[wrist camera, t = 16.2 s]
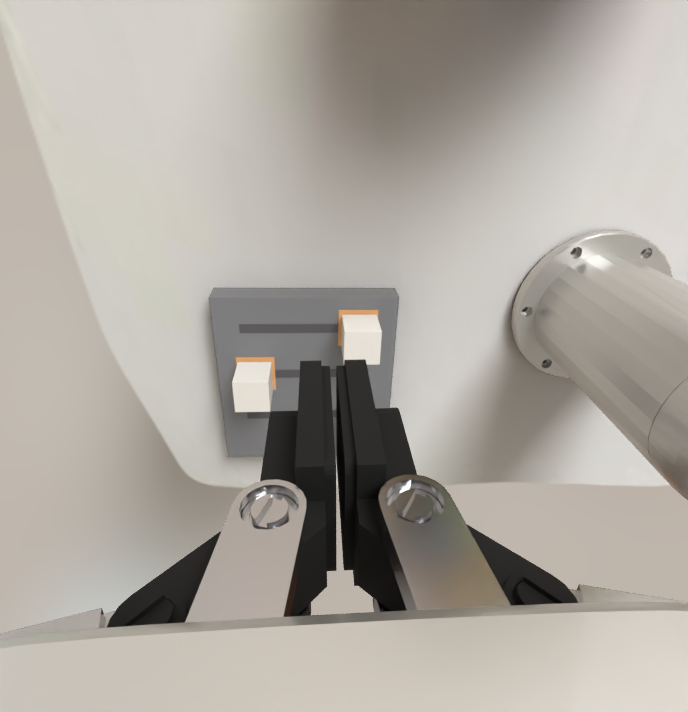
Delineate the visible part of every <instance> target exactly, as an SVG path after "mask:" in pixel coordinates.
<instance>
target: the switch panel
mask: <svg viewBox="0 0 688 712" xmlns="http://www.w3.org/2000/svg"><path fill="white" fill-rule="evenodd" d="M209 302H210V311H211V319H212V327H213V335H214V344H215V352H216V360H217V368H218V376H219V385H220V393H221V401H222V409H223V417H224V426H225V434H226V442H227V450H228V457H247V456H264V451H265V444H266V437H267V430H268V423H269V416H270V412H271V411H298V397H299V378H300V361H318V360H321V366H330V378H331V394H332V410H333V427H334V443H335V455H337V452H336V366H339V365H344V363H343V355H342V347H341V340H342V315H377V317H378V321H379V324H380V327H381V331H382V338H381V352H380V365H367V369H368V374H369V379H370V384H371V389H372V394H373V399H374V404H375V408H390V397H391V386H392V374H393V363H394V351H395V339H396V328H397V316H398V305H399V296H398V294H397V292H396V290H395V288H214V289H213V291H212V293H211V295H210V296H209ZM238 362H272V379H273V395H272V402H271V410H270V412H235V406H234V397H233V387H232V381H233V377H234V374H235V370H236V367H237V363H238Z"/></svg>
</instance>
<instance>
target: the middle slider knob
mask: <svg viewBox="0 0 688 712" xmlns="http://www.w3.org/2000/svg"><path fill="white" fill-rule="evenodd" d="M232 387H233V397H234V406H235V412H270V410H271V402H272V395H273V379H272V362H238V363H237V367H236V370H235V374H234V377H233V381H232Z"/></svg>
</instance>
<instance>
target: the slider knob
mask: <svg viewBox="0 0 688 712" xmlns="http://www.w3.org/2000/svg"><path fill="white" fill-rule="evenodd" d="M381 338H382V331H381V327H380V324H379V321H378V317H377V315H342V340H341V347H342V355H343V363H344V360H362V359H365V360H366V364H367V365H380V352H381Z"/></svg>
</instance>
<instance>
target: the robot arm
mask: <svg viewBox="0 0 688 712" xmlns="http://www.w3.org/2000/svg"><path fill="white" fill-rule="evenodd" d="M572 250H573V251H572ZM571 251H572V252H571ZM524 308H525V309H524ZM511 324H512V331H513V337H514V339H515V342H516V344H517V347H518V348H519V350H520V351H521V352H522V354H523V355H524V356H525V358H526V359H527V360H528V361H529V362H530V363H531V364H532V365H533V366H534V367H536V368H537V369H539V370H540V371H542V372H545V373H547V374H550V375H552V376H557V377H563V378H571V379H572V380H573V381H574V382H575V383H576V384H577V385H578V386H579V387H580V389H581V390H582V391H583V392H584V393H585V394H586V395H587V396H588V397H589V398H590V399H591V400H592V401H593V403H594V404H595V405H596V406H597V407H598V408H599V409H600V410H601V411H602V412H603V413H604V414H605V415H606V416H607V418H608V419H609V420H610V421H611V422H612V423H613V424H614V425H615V426H616V427H617V428H618V429H619V430H620V431H621V433H622V434H623V435H624V436H625V437H626V438H627V439H628V440H629V441H630V442H631V443H632V444H633V445H634V447H635V448H636V449H637V450H638V451H639V452H640V453H641V454H642V455H643V456H644V457H645V458H646V459H647V460H648V462H649V463H650V464H651V465H652V466H653V467H654V468H655V469H656V470H657V471H658V472H659V473H660V474H661V475H662V476H663V478H664V479H665V480H666V481H667V482H668V483H669V484H670V485H671V486H672V487H673V488H674V489H675V490H676V491H678V492H679V493H680V494H681V495H682V496H683V497H684V498H686V499H687V500H688V285H686V284H684V283H682V282H680V281H678V280H676V279H674V278H672V273H671V268H670V265H669V263H668V261H667V259H666V257H665V255H664V254H663V253H662V252H661V251H660V250H659V248H658V247H657V246H656V245H654V244H653V243H651V242H650V241H648V240H647V239H645V238H642V237H640V236H638V235H635V234H633V233H629V232H624V231H620V230H601V231H595V232H590V233H586V234H583V235H580V236H577V237H575V238H572V239H570V240H568V241H566V242H565V243H563V244H561V245H559V246H558V247H556V248H555V249H553V250H552V251H551V252H550V253H548V254H547V255H546V256H544V257H543V258H542V259H541V260H540V261H539V262H538V263H537V264H536V266H535V267H534V268H533V269H532V270H531V271H530V273H529V274H528V276H527V277H526V279H525V280H524V281H523V283H522V285H521V287H520V289H519V291H518V294H517V296H516V299H515V302H514V306H513V310H512V323H511ZM336 452H337V471H338V487H339V502H340V518H341V533H342V549H343V564H344V570H353V574H354V585H355V586H360V587H361V588H362V589H363V590H365V591H366V592H367V593H368V594H370V595H371V596H372V597H373V608H374V612H370V613H350V614H332V615H312V616H311V601H312V600H313V599H315V597H317V596H318V595H319V593H321V592H322V590H324V589H325V588H326V587H327V571H336V460H335V443H334V427H333V410H332V394H331V378H330V366H321V360H318V361H300V378H299V397H298V411H271V412H270V416H269V423H268V430H267V437H266V444H265V451H264V458H263V465H262V473H261V480H260V482H256V483H254V484H252V485H250V486H248V487H246V488H245V489H244V490H243V491H242V492H240V493H239V494H238V495H237V497H236V498H235V500H234V502H233V504H232V506H231V509H230V511H229V514H228V516H227V519H226V521H225V524H224V526H223V529H222V531H221V532H219V533H218V534H216V535H215V536H214V537H212V538H211V539H209V540H208V541H207V542H205V543H204V544H202V545H201V546H200V547H198V548H197V549H195V550H194V551H193V552H191V553H190V554H188V555H187V556H186V557H184V558H183V559H181V560H180V561H179V562H177V563H176V564H174V565H173V566H172V567H170V568H169V569H167V570H166V571H165V572H163V573H162V574H161V575H159V576H158V577H156V578H155V579H153V580H152V581H151V582H149V583H148V584H147V585H145V586H144V587H142V588H141V589H140V590H138V591H137V592H135V593H134V594H133V595H131V596H130V597H129V598H128V599H127V600H125V601H124V602H123V603H122V604H121V605H120V606H119V607H118V608H117V610H116V611H113V612H109V613H106V614H104V613H103V610H102V608H99V609H96V610H92V611H88V612H84V613H80V614H76V615H72V616H68V617H64V618H60V619H57V620H53V621H49V622H45V623H41V624H37V625H33V626H29V627H25V628H21V629H17V630H13V631H9V632H5V633H2V634H0V712H688V602H684V601H679V600H672V599H666V598H660V597H654V596H648V595H641V594H635V593H629V592H623V591H617V590H611V589H605V588H598V587H592V586H586V585H580V584H579V585H578V588H577V590H572V589H568V588H567V586H566V585H565V584H564V583H562V582H561V581H560V580H558V579H557V578H555V577H554V576H552V575H551V574H549V573H548V572H546V571H544V570H543V569H541V568H539V567H538V566H536V565H534V564H532V563H531V562H529V561H527V560H526V559H524V558H522V557H521V556H519V555H517V554H516V553H514V552H512V551H511V550H509V549H507V548H505V547H504V546H502V545H500V544H499V543H497V542H495V541H494V540H492V539H490V538H489V537H487V536H485V535H484V534H482V533H480V532H478V531H477V530H475V529H473V528H472V527H470V526H468V525H466V523H465V521H464V520H463V518H462V516H461V514H460V512H459V510H458V509H457V507H456V505H455V503H454V501H453V500H452V498H451V496H450V494H449V493H448V492H447V490H446V489H445V488H444V487H443V486H442V485H440V484H439V483H438V482H436V481H435V480H432V479H430V478H428V477H425V476H420V475H417V473H416V470H415V466H414V462H413V459H412V455H411V451H410V448H409V444H408V441H407V437H406V433H405V430H404V426H403V423H402V419H401V415H400V412H399V409H398V408H375V404H374V399H373V394H372V389H371V384H370V379H369V374H368V369H367V364H366V360H365V359H362V360H344V365H339V366H336Z"/></svg>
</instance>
